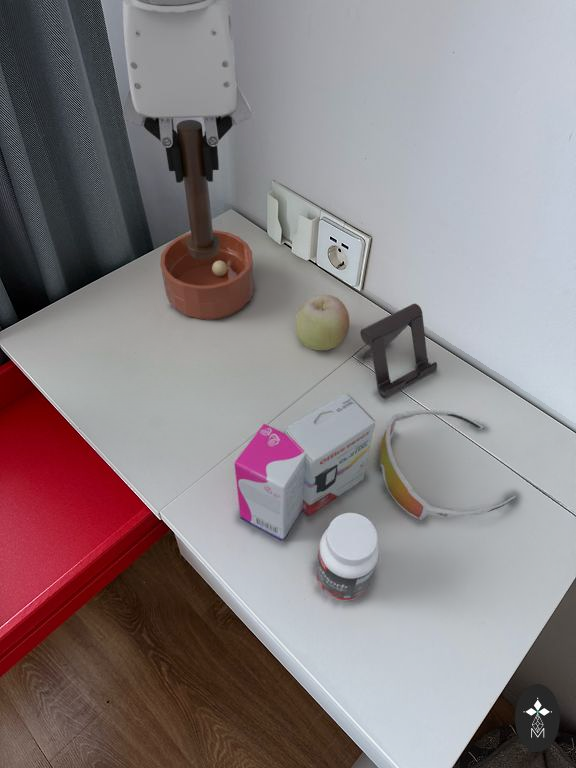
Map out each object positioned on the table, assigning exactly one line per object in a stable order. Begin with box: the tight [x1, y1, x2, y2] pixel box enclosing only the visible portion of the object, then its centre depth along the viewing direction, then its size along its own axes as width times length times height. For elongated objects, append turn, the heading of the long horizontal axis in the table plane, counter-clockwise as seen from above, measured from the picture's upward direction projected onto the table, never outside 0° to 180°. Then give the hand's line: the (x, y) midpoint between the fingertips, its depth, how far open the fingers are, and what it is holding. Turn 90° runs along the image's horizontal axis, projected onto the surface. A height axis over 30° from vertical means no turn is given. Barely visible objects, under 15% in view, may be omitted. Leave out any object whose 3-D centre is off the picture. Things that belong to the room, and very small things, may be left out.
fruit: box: [294, 294, 350, 351], centre depth 79 cm, size 8×7×8 cm
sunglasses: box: [379, 409, 516, 521], centre depth 67 cm, size 14×15×5 cm
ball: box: [212, 260, 228, 276], centre depth 88 cm, size 2×2×2 cm
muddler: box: [176, 119, 220, 259], centre depth 65 cm, size 4×4×16 cm
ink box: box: [284, 393, 377, 517], centre depth 63 cm, size 9×5×12 cm, turn 126°
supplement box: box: [233, 423, 306, 542], centre depth 60 cm, size 6×6×12 cm
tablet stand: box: [359, 302, 438, 400], centre depth 75 cm, size 9×8×8 cm
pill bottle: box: [315, 512, 380, 602], centre depth 56 cm, size 6×6×10 cm
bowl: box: [159, 229, 255, 321], centre depth 85 cm, size 13×13×6 cm
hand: (195, 174), depth 63 cm, fingers closed on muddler, 2 cm apart
